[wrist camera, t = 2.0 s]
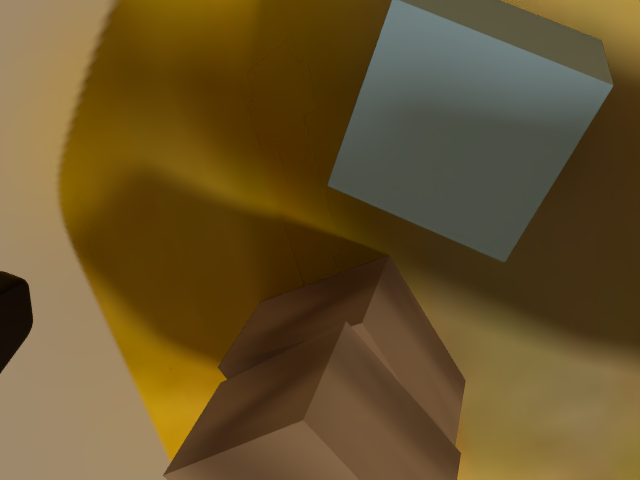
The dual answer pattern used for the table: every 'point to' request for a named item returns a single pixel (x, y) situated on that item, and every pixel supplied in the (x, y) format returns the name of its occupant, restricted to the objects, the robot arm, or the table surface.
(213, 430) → the tower mid
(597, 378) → the table surface
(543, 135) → the slate block
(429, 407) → the tower base
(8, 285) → the robot arm
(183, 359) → the table surface
